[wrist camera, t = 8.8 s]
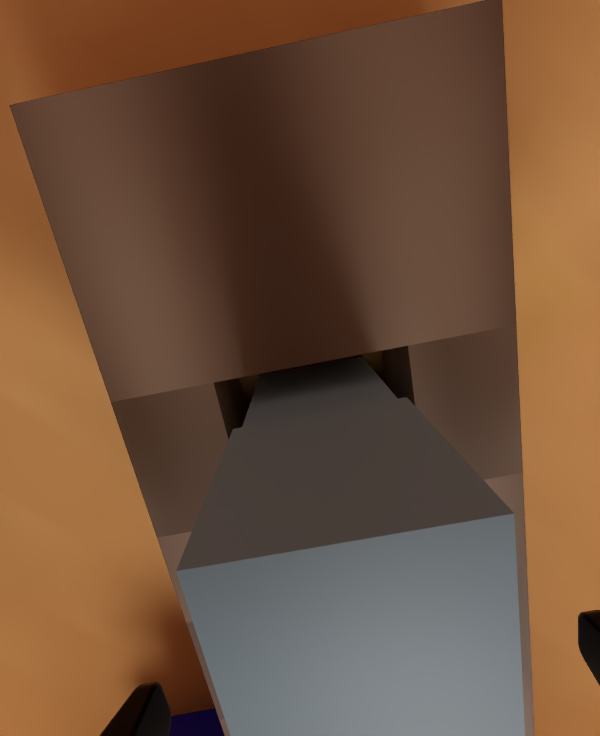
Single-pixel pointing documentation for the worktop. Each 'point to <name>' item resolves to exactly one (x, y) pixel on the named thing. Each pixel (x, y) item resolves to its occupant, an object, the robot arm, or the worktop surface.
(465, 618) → the grey channel block
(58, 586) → the worktop surface
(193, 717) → the cable clip
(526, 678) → the rail
